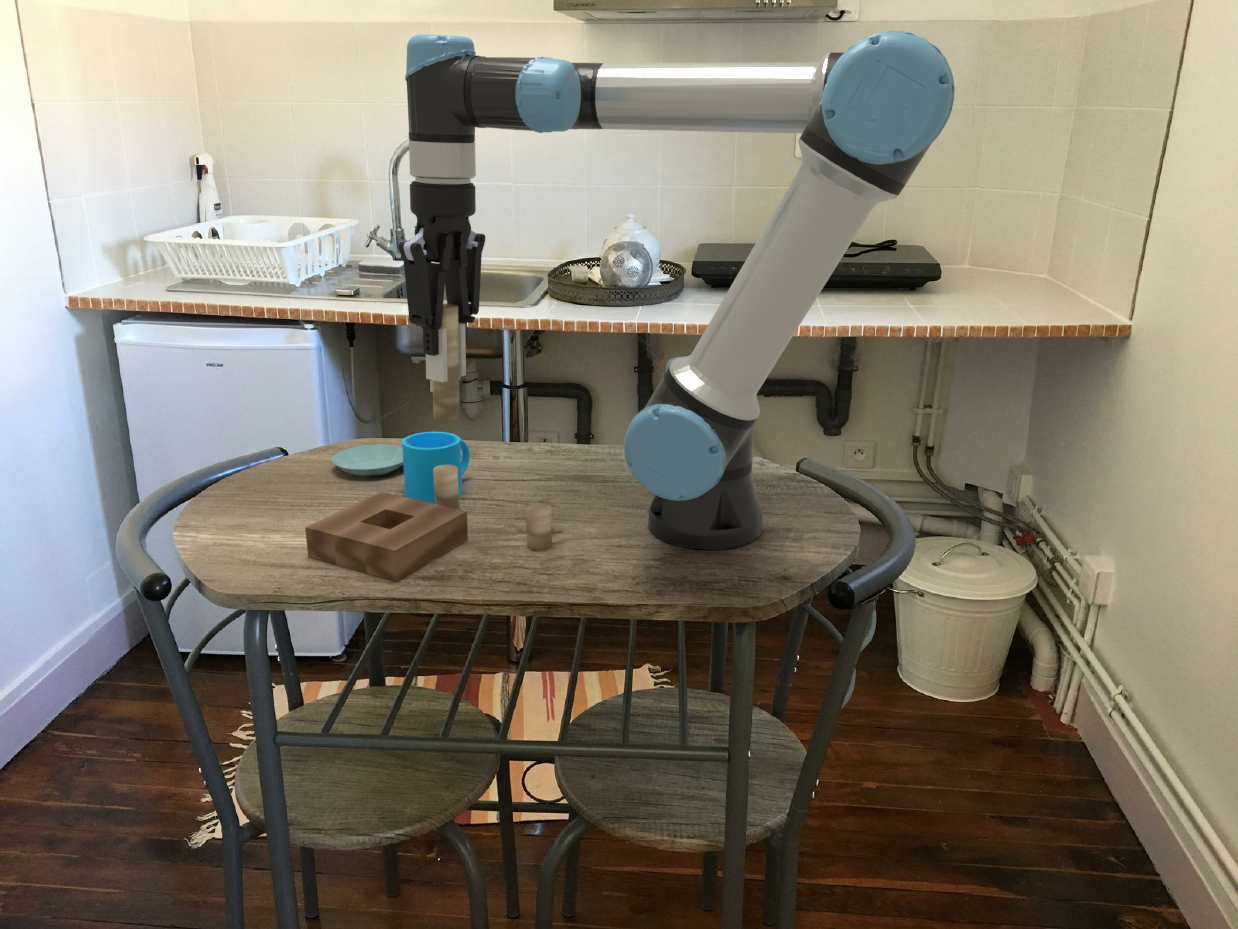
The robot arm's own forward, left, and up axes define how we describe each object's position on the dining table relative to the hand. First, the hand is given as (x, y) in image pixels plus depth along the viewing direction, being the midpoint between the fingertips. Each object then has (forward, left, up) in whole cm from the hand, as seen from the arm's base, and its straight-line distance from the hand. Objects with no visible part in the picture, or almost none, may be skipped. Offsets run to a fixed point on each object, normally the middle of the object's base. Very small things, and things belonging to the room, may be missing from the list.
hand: (446, 376), depth 125 cm
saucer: (+26, -15, -22) cm, 37 cm away
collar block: (+4, +7, -21) cm, 23 cm away
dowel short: (-12, -3, -21) cm, 24 cm away
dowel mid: (+4, -5, -21) cm, 22 cm away
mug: (+11, -13, -22) cm, 28 cm away
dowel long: (0, 0, -5) cm, 5 cm away
